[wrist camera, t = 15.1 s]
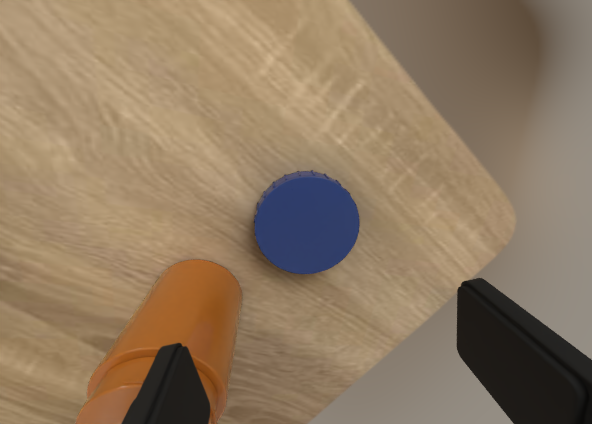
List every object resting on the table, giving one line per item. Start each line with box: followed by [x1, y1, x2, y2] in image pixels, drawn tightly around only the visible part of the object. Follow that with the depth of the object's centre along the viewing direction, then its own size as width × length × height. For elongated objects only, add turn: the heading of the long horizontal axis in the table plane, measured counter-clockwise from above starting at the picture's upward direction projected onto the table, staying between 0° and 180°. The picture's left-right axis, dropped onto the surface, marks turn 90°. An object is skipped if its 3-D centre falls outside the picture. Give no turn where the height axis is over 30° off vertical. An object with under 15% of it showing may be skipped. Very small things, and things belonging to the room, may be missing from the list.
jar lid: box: [254, 171, 359, 274], centre depth 19 cm, size 7×7×2 cm
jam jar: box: [75, 260, 242, 424], centre depth 16 cm, size 6×6×10 cm
